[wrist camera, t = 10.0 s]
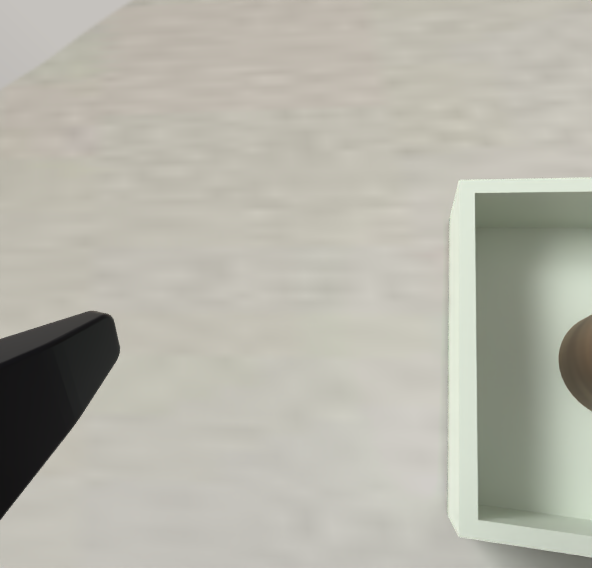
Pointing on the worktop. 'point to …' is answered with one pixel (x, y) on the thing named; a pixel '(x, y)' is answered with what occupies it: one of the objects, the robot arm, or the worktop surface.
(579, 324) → the mill
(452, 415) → the bin
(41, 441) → the robot arm
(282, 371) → the worktop surface
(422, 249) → the worktop surface
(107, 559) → the worktop surface
